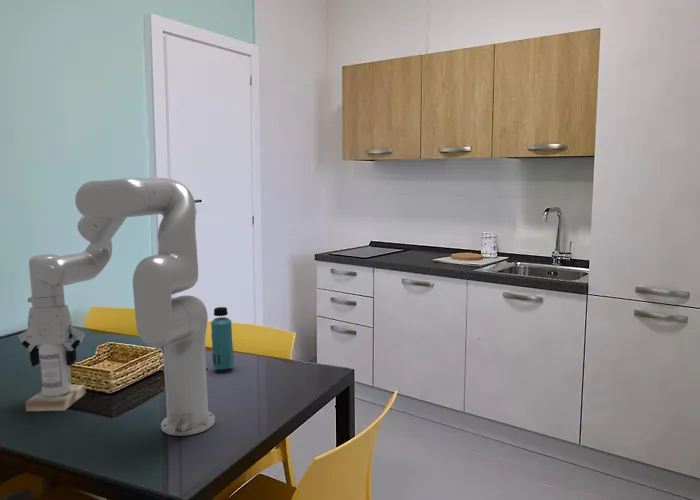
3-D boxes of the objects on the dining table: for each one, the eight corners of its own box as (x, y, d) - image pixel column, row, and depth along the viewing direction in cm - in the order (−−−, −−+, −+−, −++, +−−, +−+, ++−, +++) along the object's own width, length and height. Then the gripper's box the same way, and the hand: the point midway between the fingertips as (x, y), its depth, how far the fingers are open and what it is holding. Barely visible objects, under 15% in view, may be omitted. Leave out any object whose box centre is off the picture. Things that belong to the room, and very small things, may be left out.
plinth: (64, 410, 146) (63, 400, 146) (26, 411, 146) (25, 401, 146) (85, 393, 158) (85, 384, 158) (50, 393, 158) (49, 384, 158)
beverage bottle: (236, 367, 178) (234, 305, 176) (230, 374, 172) (227, 310, 169) (216, 366, 179) (214, 305, 176) (209, 374, 172) (206, 310, 170)
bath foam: (59, 386, 156) (53, 316, 154) (77, 389, 154) (71, 318, 151) (36, 395, 150) (29, 322, 148) (54, 398, 147) (48, 324, 145)
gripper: (7, 305, 145) (13, 369, 147) (74, 304, 145) (79, 368, 147) (23, 299, 152) (29, 360, 155) (87, 298, 152) (92, 359, 155)
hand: (53, 364), depth 151 cm, fingers open, 9 cm apart
